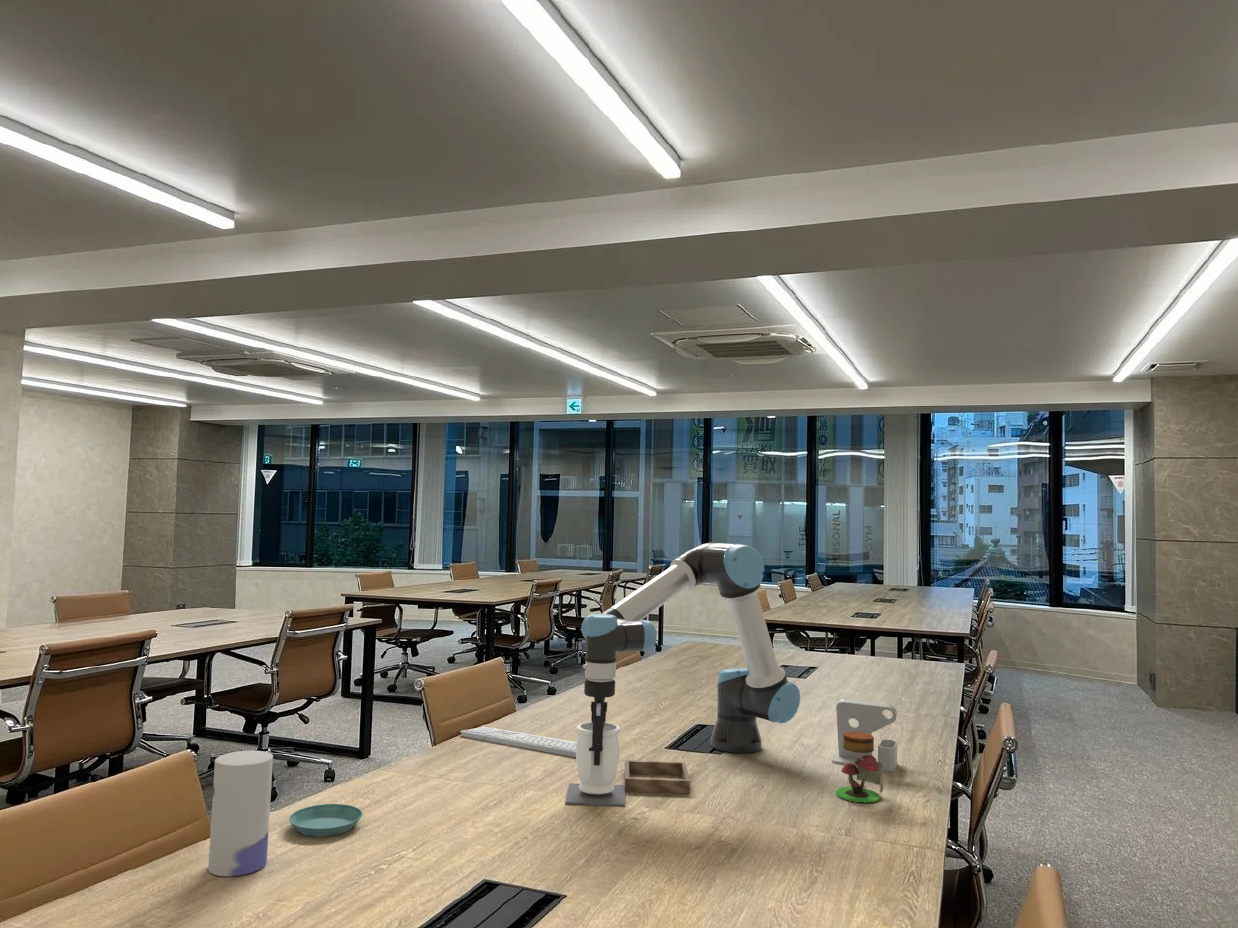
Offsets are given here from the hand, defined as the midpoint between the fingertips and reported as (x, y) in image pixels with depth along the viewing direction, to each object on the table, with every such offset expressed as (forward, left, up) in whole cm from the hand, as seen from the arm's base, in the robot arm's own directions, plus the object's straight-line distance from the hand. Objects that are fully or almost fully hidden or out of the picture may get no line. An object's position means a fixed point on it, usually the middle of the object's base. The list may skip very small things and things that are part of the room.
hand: (597, 771), depth 203 cm
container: (+66, +47, -6) cm, 81 cm away
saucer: (+57, +26, -6) cm, 63 cm away
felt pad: (0, 0, -6) cm, 6 cm away
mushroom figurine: (-65, -6, -6) cm, 66 cm away
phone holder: (-75, -36, -6) cm, 84 cm away
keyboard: (+21, -46, -6) cm, 50 cm away
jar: (0, 0, -4) cm, 4 cm away
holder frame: (-15, -12, -6) cm, 20 cm away
